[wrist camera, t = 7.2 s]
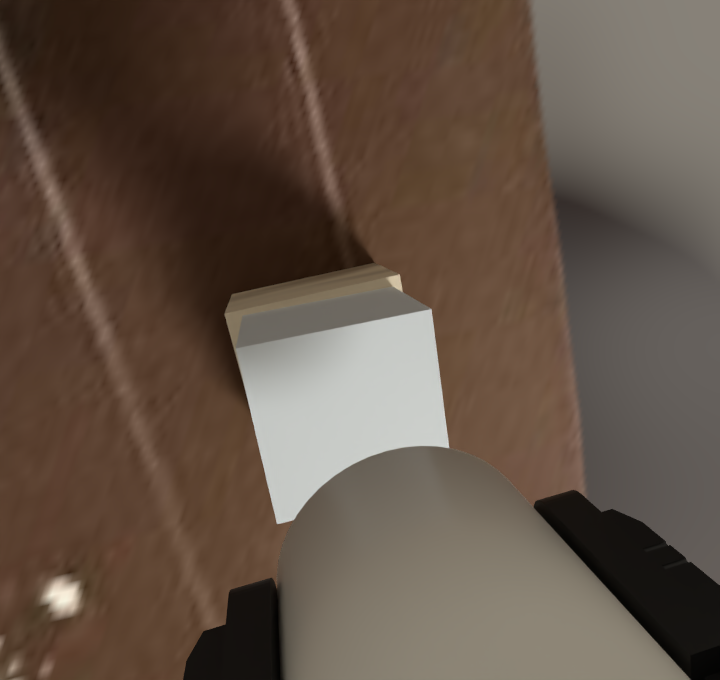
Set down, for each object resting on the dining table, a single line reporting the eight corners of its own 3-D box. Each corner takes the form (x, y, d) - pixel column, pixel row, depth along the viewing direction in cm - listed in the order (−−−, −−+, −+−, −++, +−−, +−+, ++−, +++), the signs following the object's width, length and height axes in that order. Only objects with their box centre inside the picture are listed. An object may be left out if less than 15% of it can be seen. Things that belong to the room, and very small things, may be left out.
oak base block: (232, 293, 25) (224, 313, 20) (374, 262, 25) (399, 274, 21) (267, 426, 26) (268, 474, 22) (398, 393, 27) (427, 431, 22)
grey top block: (242, 315, 20) (235, 348, 15) (392, 286, 21) (431, 309, 16) (274, 454, 21) (277, 524, 17) (412, 422, 22) (453, 480, 17)
